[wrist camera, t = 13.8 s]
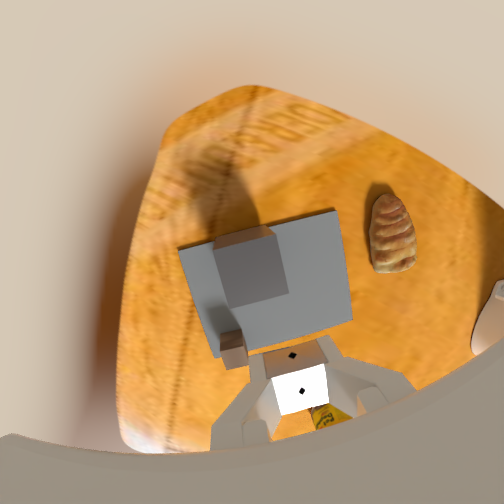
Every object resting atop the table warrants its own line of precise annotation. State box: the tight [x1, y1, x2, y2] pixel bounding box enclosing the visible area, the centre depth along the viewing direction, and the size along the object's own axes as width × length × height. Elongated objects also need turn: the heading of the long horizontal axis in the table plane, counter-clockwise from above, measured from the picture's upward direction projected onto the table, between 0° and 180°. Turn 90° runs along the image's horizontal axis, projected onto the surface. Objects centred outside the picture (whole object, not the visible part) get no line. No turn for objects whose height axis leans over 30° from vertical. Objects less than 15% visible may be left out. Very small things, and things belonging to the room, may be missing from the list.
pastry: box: [369, 194, 417, 273], centre depth 30 cm, size 9×7×4 cm
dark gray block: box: [212, 225, 289, 309], centre depth 26 cm, size 5×5×7 cm
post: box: [220, 329, 249, 370], centre depth 30 cm, size 3×3×4 cm
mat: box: [178, 210, 353, 358], centre depth 31 cm, size 18×14×1 cm
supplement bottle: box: [311, 402, 353, 430], centre depth 32 cm, size 6×6×10 cm
